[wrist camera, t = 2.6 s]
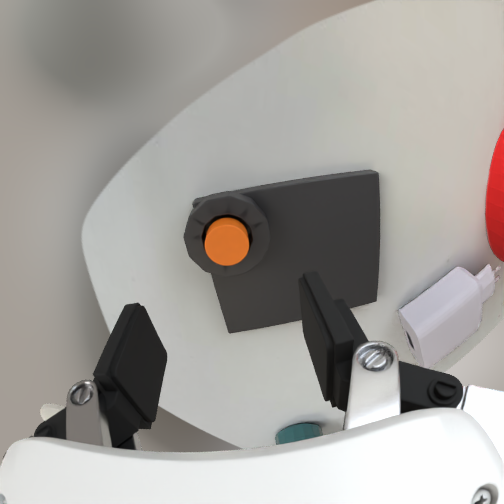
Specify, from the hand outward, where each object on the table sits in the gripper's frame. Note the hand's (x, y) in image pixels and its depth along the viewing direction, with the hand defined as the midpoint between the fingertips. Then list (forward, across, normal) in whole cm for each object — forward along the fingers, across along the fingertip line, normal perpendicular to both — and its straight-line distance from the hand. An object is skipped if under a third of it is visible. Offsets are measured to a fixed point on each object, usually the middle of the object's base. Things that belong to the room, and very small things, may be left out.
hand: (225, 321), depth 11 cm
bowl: (+12, -3, +34) cm, 37 cm away
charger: (+12, -24, +14) cm, 30 cm away
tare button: (+9, 0, 0) cm, 9 cm away
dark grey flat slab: (+12, -5, +4) cm, 13 cm away
